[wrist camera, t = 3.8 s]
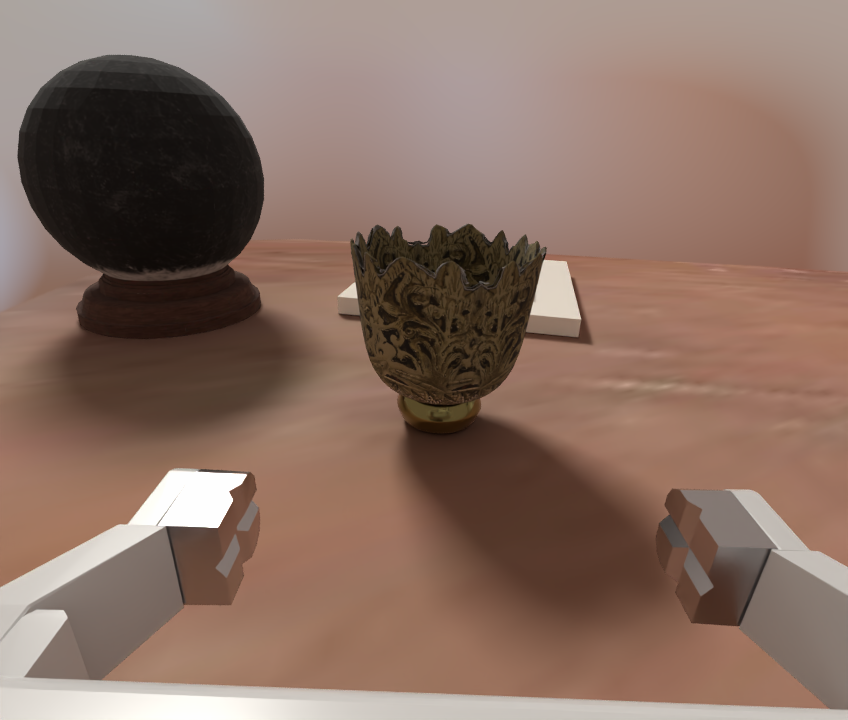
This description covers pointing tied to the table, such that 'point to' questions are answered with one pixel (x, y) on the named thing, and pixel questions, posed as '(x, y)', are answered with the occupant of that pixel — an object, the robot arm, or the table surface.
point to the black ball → (145, 194)
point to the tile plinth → (549, 308)
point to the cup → (444, 317)
